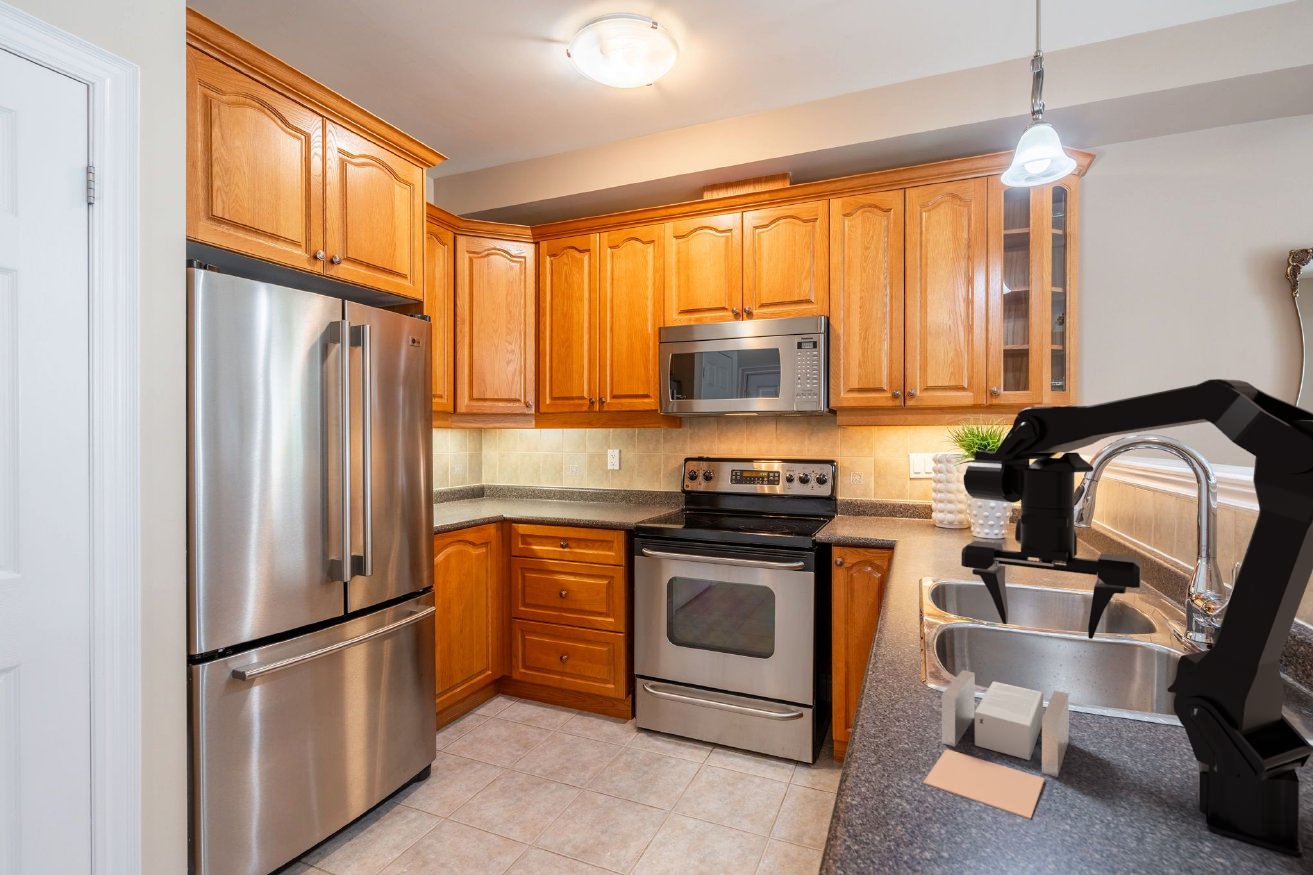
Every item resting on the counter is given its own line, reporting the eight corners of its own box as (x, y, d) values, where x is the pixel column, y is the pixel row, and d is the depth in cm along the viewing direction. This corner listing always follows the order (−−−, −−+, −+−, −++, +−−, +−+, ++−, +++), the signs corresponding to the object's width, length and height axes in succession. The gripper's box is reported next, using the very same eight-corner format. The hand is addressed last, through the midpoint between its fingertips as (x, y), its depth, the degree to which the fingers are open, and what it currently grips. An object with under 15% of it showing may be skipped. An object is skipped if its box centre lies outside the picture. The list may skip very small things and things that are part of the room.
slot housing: (1068, 742, 77) (1068, 693, 77) (1057, 777, 69) (1057, 722, 69) (962, 714, 84) (962, 670, 84) (941, 743, 77) (941, 694, 77)
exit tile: (1044, 781, 68) (1044, 778, 68) (1030, 821, 61) (1030, 817, 61) (946, 752, 74) (946, 748, 74) (923, 785, 67) (923, 781, 67)
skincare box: (992, 711, 85) (972, 745, 76) (992, 680, 85) (972, 710, 76) (1044, 724, 82) (1030, 762, 72) (1045, 691, 82) (1030, 725, 72)
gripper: (1142, 506, 79) (1142, 629, 79) (980, 496, 91) (979, 604, 91) (1139, 515, 71) (1139, 653, 71) (960, 503, 82) (960, 622, 82)
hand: (1046, 630), depth 79 cm, fingers open, 9 cm apart
